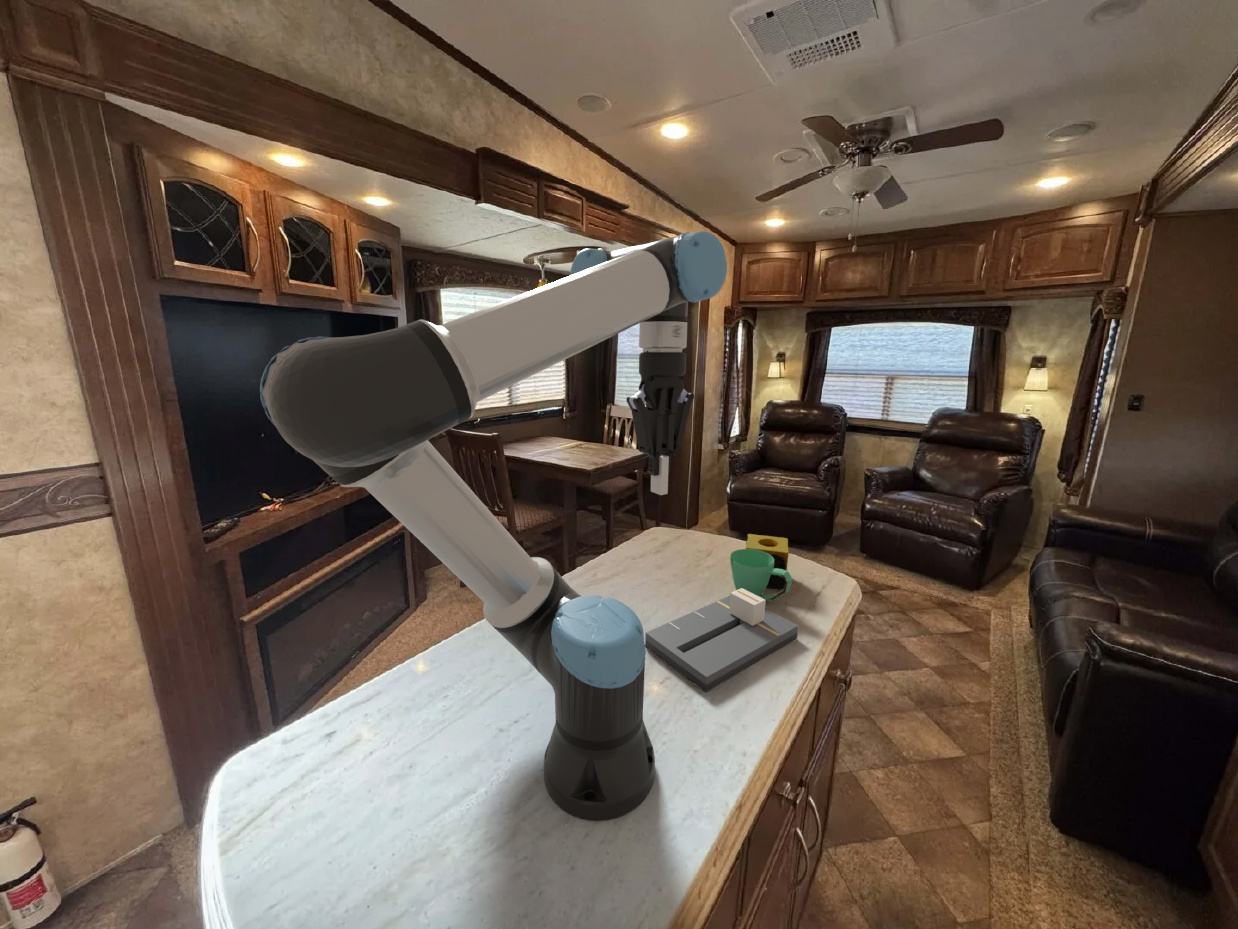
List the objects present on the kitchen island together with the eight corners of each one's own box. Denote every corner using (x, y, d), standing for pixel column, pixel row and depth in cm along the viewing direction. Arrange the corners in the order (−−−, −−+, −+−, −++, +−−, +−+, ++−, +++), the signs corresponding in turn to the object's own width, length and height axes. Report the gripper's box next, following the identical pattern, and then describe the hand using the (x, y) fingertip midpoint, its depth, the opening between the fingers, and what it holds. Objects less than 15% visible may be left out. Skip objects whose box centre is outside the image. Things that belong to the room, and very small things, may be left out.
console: (705, 692, 81) (706, 676, 81) (645, 646, 94) (645, 632, 93) (796, 639, 97) (798, 625, 96) (734, 605, 109) (735, 592, 108)
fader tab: (752, 632, 96) (754, 604, 94) (728, 619, 100) (730, 592, 99) (763, 626, 98) (765, 599, 96) (739, 613, 102) (741, 587, 101)
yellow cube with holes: (741, 586, 118) (744, 548, 116) (743, 568, 128) (746, 532, 125) (785, 592, 115) (789, 553, 113) (784, 573, 125) (787, 537, 122)
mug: (719, 597, 113) (721, 557, 110) (742, 583, 119) (744, 545, 117) (777, 622, 102) (781, 578, 100) (798, 605, 109) (803, 564, 107)
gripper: (646, 350, 70) (643, 505, 76) (708, 350, 78) (701, 491, 83) (615, 350, 76) (615, 493, 82) (676, 350, 84) (672, 481, 89)
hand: (659, 492), depth 83 cm, fingers closed
